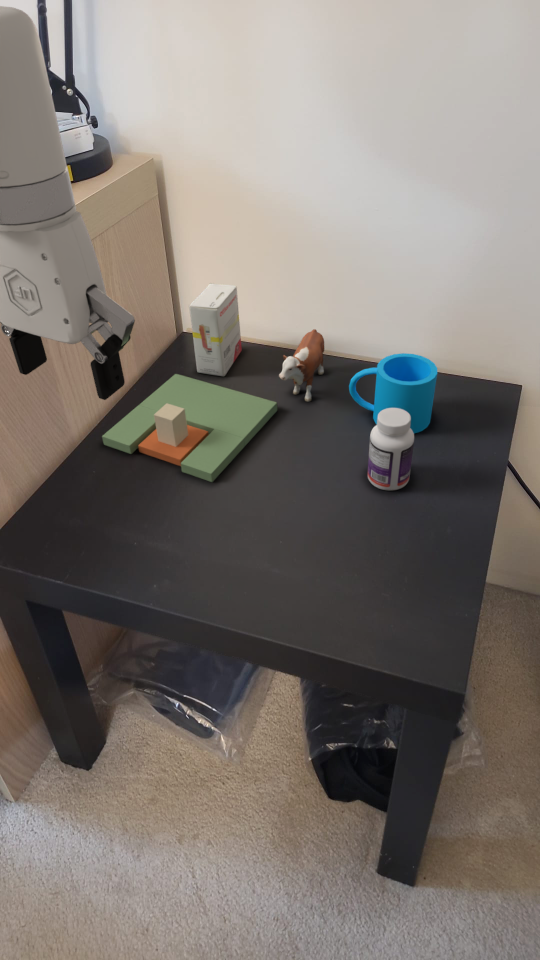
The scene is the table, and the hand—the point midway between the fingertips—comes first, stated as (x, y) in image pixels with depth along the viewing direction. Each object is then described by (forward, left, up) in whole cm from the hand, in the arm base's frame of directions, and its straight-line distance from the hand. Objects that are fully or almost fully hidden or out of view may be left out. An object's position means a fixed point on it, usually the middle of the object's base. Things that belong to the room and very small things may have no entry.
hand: (72, 379), depth 66 cm
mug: (+19, +39, -24) cm, 49 cm away
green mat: (-5, +24, -23) cm, 34 cm away
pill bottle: (+24, +26, -24) cm, 42 cm away
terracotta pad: (-5, +19, -23) cm, 31 cm away
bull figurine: (+5, +40, -24) cm, 47 cm away
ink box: (-11, +41, -24) cm, 49 cm away
